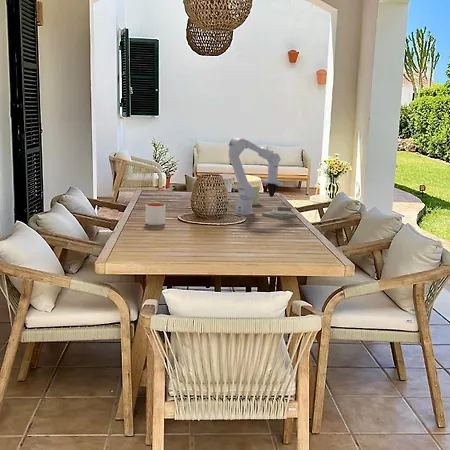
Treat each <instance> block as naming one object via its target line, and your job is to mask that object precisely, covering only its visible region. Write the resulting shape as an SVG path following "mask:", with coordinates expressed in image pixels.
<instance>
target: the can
mask: <svg viewBox="0 0 450 450" xmlns="http://www.w3.org/2000/svg"><path fill="white" fill-rule="evenodd" d="M250 185H251V187H252V188H253V189H254V191H255V195H254V197H253V199H252V206H255V205H259V204H260V185H255V184H250Z"/></svg>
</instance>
